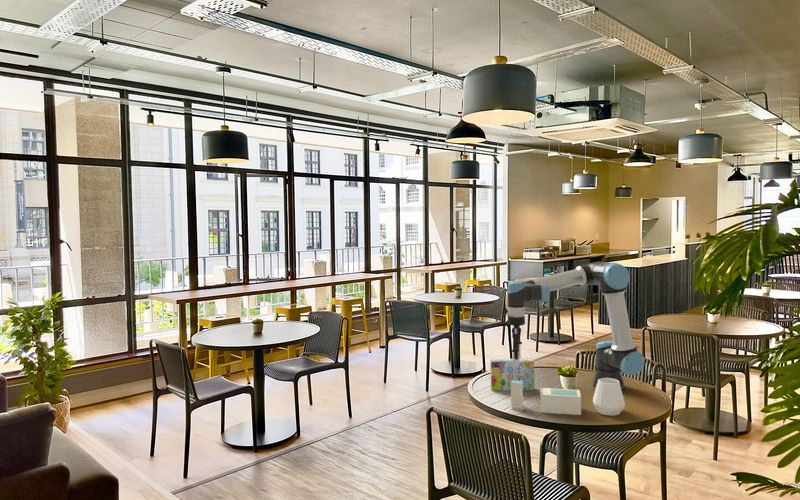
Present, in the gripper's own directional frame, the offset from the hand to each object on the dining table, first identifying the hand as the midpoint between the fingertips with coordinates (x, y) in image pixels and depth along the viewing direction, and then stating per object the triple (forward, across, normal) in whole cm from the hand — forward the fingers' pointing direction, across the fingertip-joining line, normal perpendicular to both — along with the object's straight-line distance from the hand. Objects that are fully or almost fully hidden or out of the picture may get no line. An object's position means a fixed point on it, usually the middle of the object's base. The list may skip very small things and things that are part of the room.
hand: (516, 362), depth 252 cm
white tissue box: (+21, 0, +19) cm, 28 cm away
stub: (+21, 0, 0) cm, 21 cm away
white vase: (+21, -1, +39) cm, 44 cm away
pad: (+21, 0, 0) cm, 21 cm away
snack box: (+21, -26, -4) cm, 34 cm away
